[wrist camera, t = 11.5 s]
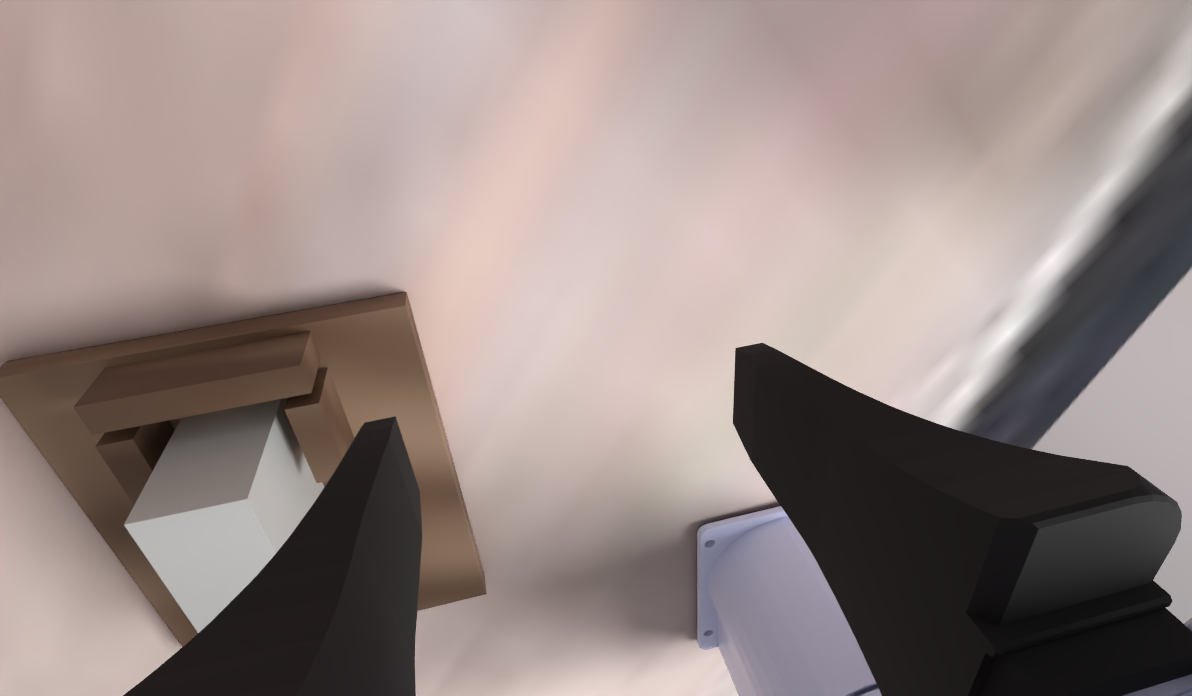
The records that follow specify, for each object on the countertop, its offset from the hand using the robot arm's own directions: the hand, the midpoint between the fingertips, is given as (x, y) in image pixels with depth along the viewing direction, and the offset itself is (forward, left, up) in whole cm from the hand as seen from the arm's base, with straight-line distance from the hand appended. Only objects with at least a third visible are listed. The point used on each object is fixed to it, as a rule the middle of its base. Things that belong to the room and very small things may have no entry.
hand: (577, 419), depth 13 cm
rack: (-8, +10, -9) cm, 16 cm away
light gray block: (-8, +10, -8) cm, 15 cm away
